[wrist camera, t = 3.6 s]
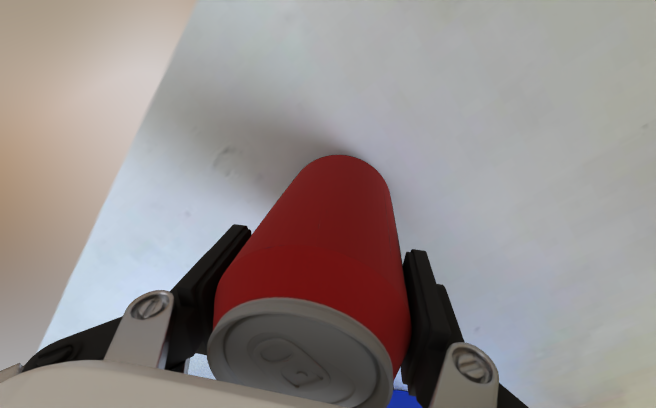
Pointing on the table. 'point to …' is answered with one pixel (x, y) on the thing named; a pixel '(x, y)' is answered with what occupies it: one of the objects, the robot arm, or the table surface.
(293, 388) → the beverage can
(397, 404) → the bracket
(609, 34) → the table surface
